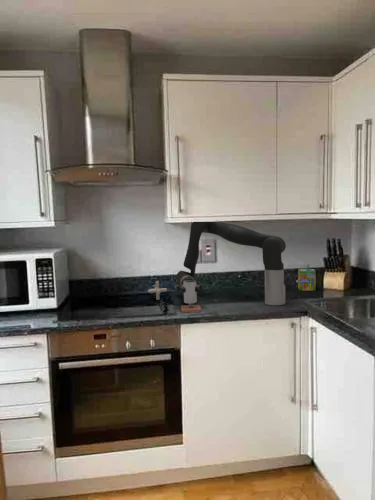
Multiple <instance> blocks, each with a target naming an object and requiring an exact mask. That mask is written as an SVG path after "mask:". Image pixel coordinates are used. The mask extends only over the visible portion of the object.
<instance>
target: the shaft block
mask: <svg viewBox="0 0 375 500" xmlns="http://www.w3.org/2000/svg"><path fill="white" fill-rule="evenodd" d="M187 304H188V305H184V304H183V305H181V306H180V309H181V313H182V314H183V313H201V312H202V308H201V306H200V304H194V303H187Z"/></svg>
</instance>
